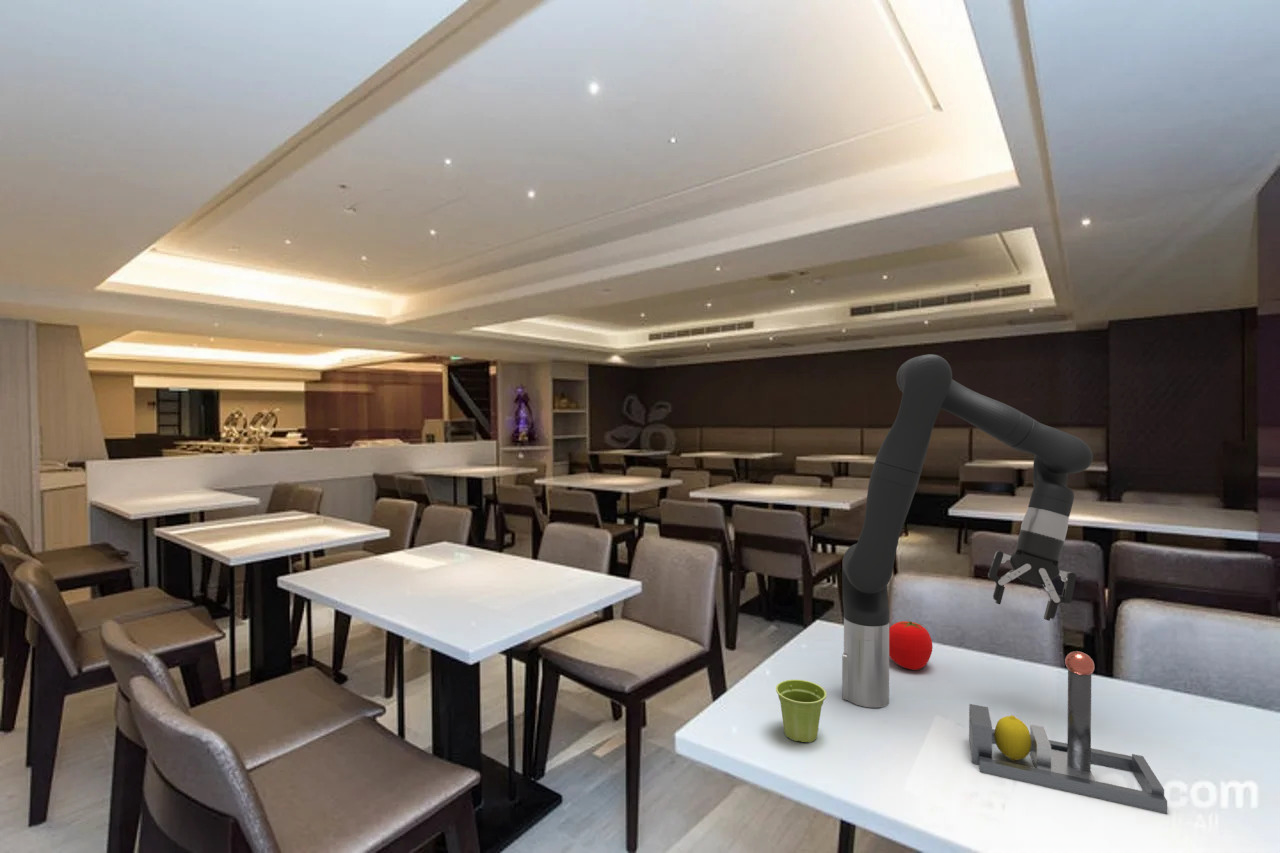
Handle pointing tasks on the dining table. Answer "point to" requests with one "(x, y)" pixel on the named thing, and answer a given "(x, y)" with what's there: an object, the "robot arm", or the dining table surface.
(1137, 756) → the frame
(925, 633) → the tomato
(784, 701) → the plant pot
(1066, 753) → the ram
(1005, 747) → the lemon
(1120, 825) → the dining table surface
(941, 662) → the dining table surface
